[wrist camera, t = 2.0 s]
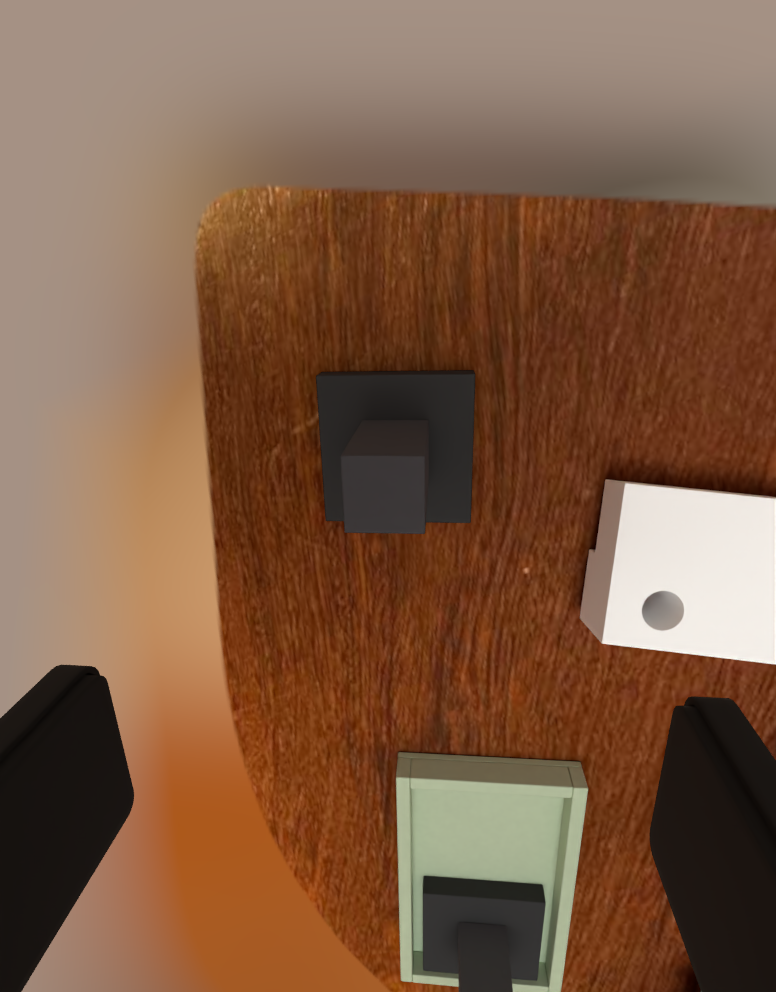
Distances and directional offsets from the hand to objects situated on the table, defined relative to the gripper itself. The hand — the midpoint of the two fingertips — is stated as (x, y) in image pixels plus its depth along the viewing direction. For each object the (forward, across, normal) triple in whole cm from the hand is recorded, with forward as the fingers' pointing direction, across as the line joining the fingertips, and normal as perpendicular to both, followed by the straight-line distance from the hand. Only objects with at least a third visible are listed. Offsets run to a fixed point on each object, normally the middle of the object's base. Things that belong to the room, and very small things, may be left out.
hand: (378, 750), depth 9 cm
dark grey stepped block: (+19, +1, 0) cm, 19 cm away
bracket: (+19, -15, +5) cm, 24 cm away
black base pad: (+18, -4, +32) cm, 37 cm away
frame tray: (+19, -4, +28) cm, 34 cm away
